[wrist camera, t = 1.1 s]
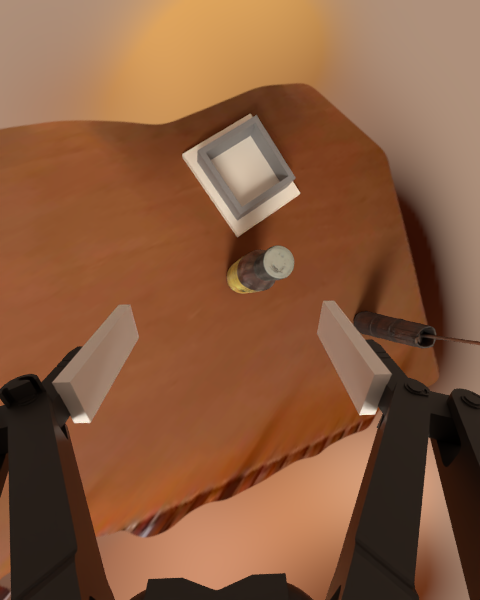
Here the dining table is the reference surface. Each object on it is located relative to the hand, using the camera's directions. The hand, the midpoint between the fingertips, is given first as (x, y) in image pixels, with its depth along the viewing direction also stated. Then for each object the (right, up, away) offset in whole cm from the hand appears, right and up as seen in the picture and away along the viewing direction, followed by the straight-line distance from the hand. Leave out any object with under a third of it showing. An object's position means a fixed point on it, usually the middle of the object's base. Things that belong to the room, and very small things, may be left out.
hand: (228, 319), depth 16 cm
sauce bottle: (+1, +6, +31) cm, 32 cm away
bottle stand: (+1, +26, +31) cm, 40 cm away
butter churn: (+28, -4, +36) cm, 46 cm away
